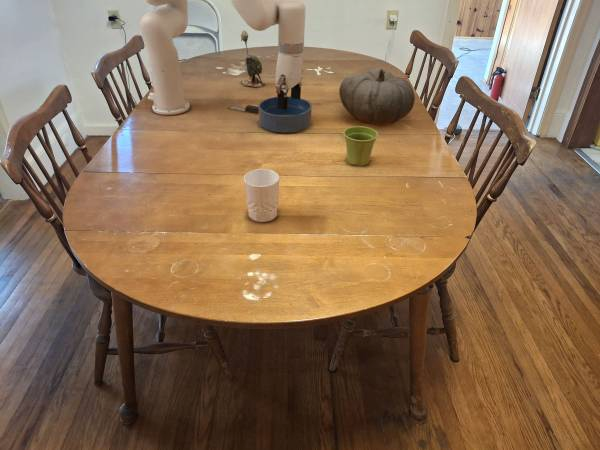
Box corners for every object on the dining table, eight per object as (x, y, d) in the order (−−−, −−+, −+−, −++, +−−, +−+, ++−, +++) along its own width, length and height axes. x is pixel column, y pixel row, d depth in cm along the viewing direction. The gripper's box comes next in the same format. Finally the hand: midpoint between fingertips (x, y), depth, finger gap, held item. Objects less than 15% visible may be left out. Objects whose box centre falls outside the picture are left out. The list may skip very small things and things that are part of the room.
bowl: (249, 128, 148) (248, 110, 144) (273, 109, 161) (273, 93, 157) (298, 138, 142) (298, 120, 139) (319, 118, 155) (319, 101, 152)
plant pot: (352, 172, 126) (355, 143, 121) (335, 157, 132) (337, 129, 127) (381, 165, 129) (384, 136, 124) (362, 151, 136) (365, 123, 131)
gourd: (326, 119, 148) (337, 63, 140) (342, 104, 169) (353, 55, 161) (403, 138, 143) (419, 81, 135) (409, 120, 165) (424, 71, 157)
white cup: (246, 205, 112) (244, 169, 106) (279, 204, 112) (278, 168, 106) (246, 224, 105) (243, 186, 99) (280, 223, 106) (280, 185, 100)
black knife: (260, 111, 159) (260, 106, 158) (257, 113, 158) (257, 108, 157) (232, 106, 163) (232, 101, 162) (229, 108, 161) (229, 103, 160)
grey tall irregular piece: (249, 91, 176) (247, 36, 164) (238, 82, 184) (235, 29, 172) (269, 88, 179) (267, 33, 167) (257, 79, 187) (255, 26, 175)
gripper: (291, 38, 143) (289, 92, 153) (266, 52, 130) (266, 110, 140) (313, 42, 141) (310, 96, 151) (290, 57, 128) (288, 115, 138)
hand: (289, 103), depth 146 cm, fingers open, 9 cm apart
